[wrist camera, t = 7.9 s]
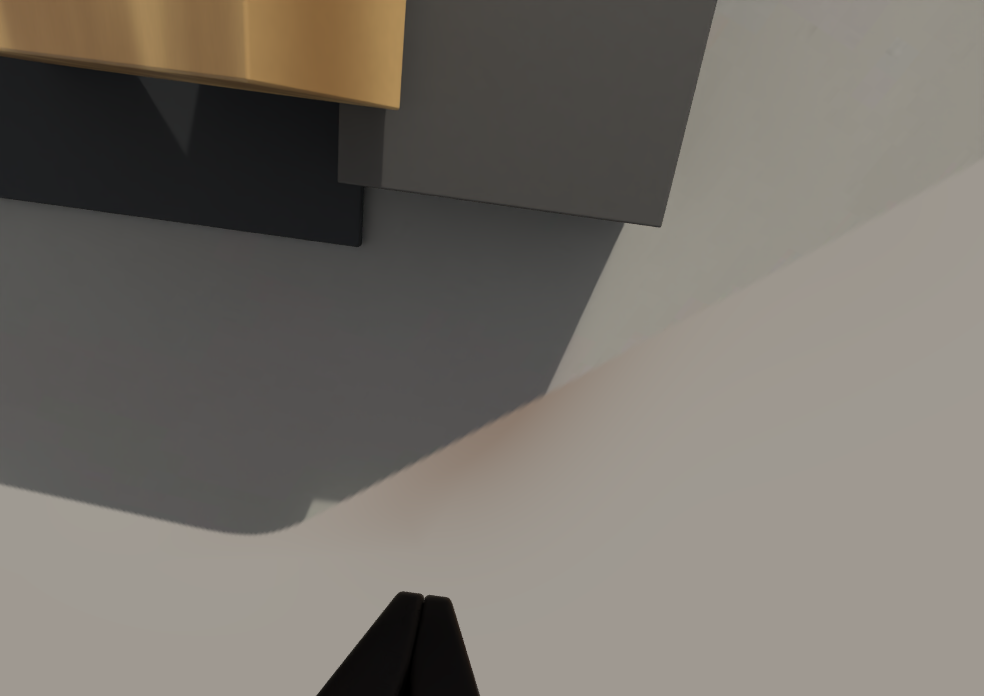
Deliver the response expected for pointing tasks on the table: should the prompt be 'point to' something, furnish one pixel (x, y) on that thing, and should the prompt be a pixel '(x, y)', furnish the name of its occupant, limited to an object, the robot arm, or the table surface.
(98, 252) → the table surface
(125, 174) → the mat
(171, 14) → the maple block
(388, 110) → the stand
